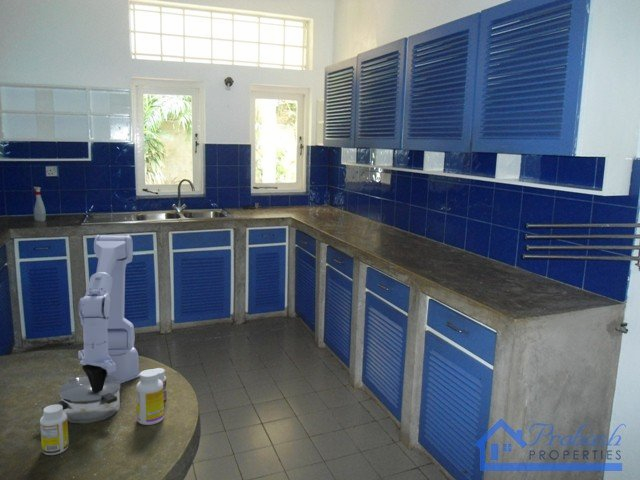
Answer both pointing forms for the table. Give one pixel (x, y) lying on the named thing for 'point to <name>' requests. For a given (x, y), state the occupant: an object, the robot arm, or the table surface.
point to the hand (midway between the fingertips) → (97, 390)
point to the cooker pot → (89, 410)
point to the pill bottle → (163, 379)
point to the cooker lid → (89, 390)
